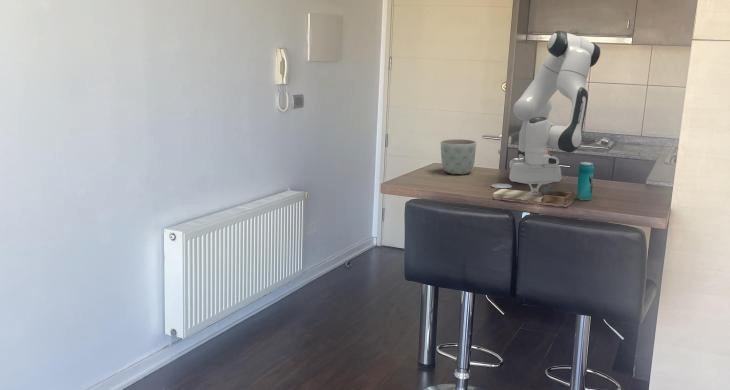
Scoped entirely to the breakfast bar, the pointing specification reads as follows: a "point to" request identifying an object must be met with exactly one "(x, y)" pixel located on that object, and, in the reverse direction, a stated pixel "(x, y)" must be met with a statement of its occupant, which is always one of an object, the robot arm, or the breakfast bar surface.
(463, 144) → the planter
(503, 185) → the coaster
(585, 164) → the beverage can
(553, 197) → the brown square tray
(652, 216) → the breakfast bar surface
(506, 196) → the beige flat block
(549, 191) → the ball
